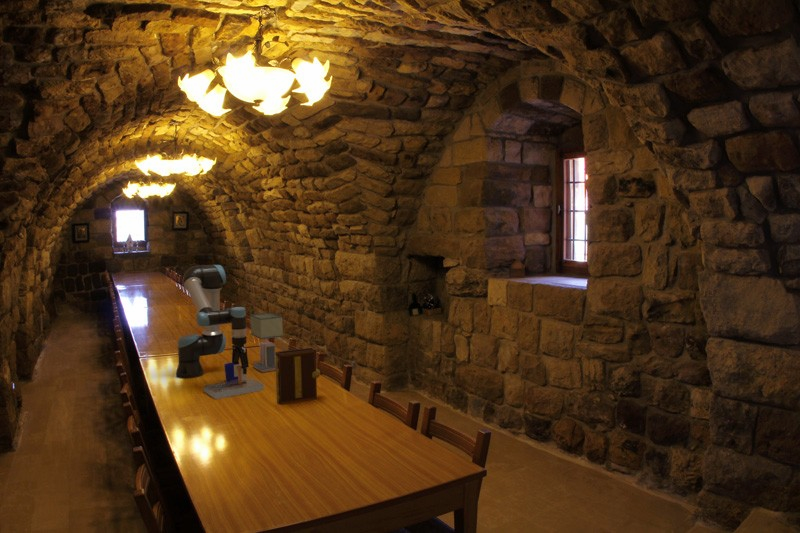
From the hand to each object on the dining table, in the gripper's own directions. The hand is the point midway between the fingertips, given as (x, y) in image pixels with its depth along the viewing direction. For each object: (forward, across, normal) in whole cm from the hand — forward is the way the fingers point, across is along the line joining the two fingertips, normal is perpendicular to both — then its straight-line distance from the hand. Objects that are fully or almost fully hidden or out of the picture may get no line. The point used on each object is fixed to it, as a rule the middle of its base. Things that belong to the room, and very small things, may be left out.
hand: (240, 378), depth 317 cm
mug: (+6, -17, +4) cm, 19 cm away
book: (+6, +37, +15) cm, 40 cm away
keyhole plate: (+6, 0, -4) cm, 7 cm away
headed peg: (+6, 0, 0) cm, 6 cm away
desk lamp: (+6, -33, +31) cm, 46 cm away
